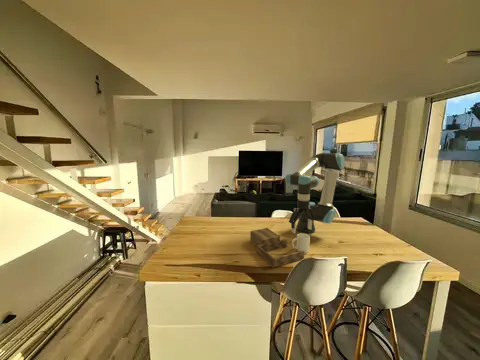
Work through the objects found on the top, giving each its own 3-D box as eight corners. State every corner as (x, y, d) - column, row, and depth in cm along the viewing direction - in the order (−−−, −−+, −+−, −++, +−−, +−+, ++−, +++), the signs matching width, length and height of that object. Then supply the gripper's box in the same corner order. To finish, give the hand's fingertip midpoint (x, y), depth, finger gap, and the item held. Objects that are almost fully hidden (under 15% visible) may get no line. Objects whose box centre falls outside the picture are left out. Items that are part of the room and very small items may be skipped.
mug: (293, 253, 139) (294, 238, 138) (288, 247, 147) (289, 233, 146) (311, 253, 141) (312, 238, 139) (305, 247, 149) (306, 233, 147)
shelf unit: (272, 236, 164) (272, 226, 163) (304, 258, 134) (304, 246, 132) (245, 242, 154) (245, 231, 153) (272, 267, 124) (273, 254, 122)
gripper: (313, 195, 147) (311, 225, 151) (284, 200, 136) (282, 232, 140) (322, 198, 140) (320, 229, 144) (291, 203, 129) (290, 236, 133)
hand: (301, 230), depth 142 cm, fingers open, 13 cm apart
